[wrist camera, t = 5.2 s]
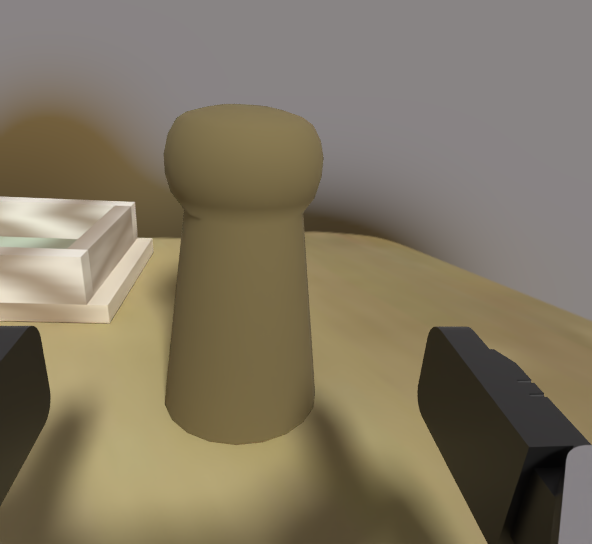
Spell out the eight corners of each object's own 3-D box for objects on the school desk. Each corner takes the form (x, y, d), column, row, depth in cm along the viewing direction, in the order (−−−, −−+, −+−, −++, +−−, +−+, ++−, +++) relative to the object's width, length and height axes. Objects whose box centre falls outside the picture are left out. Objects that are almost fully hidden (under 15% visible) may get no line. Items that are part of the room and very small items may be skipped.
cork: (157, 361, 21) (139, 96, 17) (286, 342, 23) (300, 102, 19) (175, 461, 16) (157, 112, 11) (339, 425, 18) (376, 119, 14)
